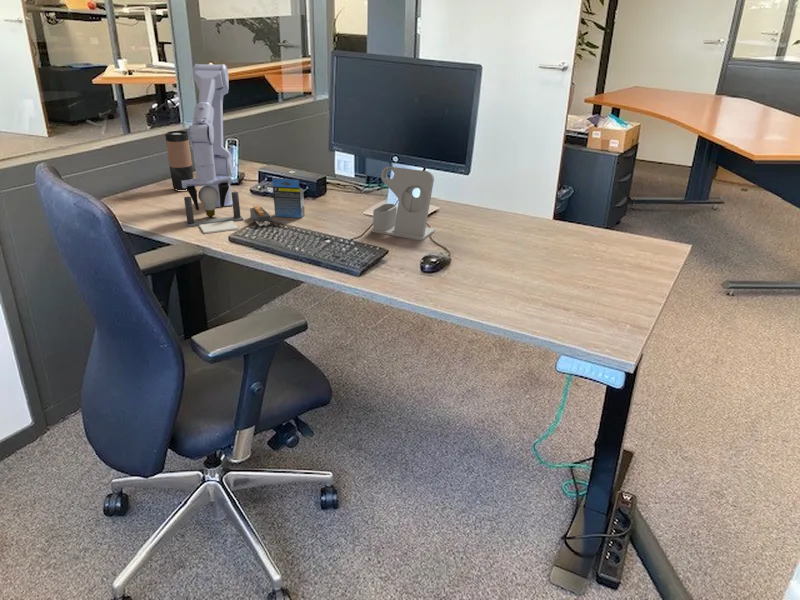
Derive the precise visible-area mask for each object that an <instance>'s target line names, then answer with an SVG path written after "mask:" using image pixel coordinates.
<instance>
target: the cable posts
mask: <svg viewBox="0 0 800 600" xmlns="http://www.w3.org/2000/svg"><path fill="white" fill-rule="evenodd" d="M239 197H240V196H239V192H238V191H231V199H232V203H233V205H232V209H233V210H232V211H233V215H232V216H228V217H227V216H226V217H219V218H218V217H217V218H210V219H201V220H195V217H194V209H193V200H192V198H191V196H184V197H183V199H184V200H183V201H184V207H185V215H186V221H185V222H184V225H185V227H186V228H192V227H198V226H199V225H201V224H209V223H217V222H225V221H233V222H238V221H244V217H243V216H242V215H241V208H240V206H241V205H240V198H239Z"/></svg>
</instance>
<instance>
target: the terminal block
mask: <svg viewBox="0 0 800 600" xmlns="http://www.w3.org/2000/svg"><path fill="white" fill-rule="evenodd" d="M252 206H253V208H252V207H250V208H249V212H250V218H251V220H252V221H253V222H254V221H258V222H264V221H268V222H271V219H272V218H271V215H270V214H269V213H268V212H267V211H266V210H265V208H263V207H262V206H258V205H252ZM271 223H272V222H271Z"/></svg>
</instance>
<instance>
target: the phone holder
mask: <svg viewBox="0 0 800 600" xmlns="http://www.w3.org/2000/svg"><path fill="white" fill-rule="evenodd" d="M389 171H392V172H394V173H393V174H394V175H393V177H392V178H388V176H387V175H388V173H389ZM380 179H381V181H382V182H383V183H384V184H385V185H386V186H387V188H388V189H390V190H391V192H392V193H393V194H394V196H396V197H397V198H398V202H397V203H398V205H396V204H395V203H385V204H382V205H380V206H378V207H376V208H374V209H373V210H372V211H373V213H372V214H373V215H372V218H373V219H372V220H373V222H372V223H373V224H372V229H371V231H372V232H373V233H376V234H382V235H388V236H393V237H399V238H405V239H411V240H415V241H416V240H417V241H424V240H426V239H427V238H429V237H430V236H431V235H432V234H434V233H435V230H436V229H435V228H433V227H427V221H428V216H429V212H430V211H429V210H430V204H431V199H432V194H433V187H434V181H435V177H434V174H433V173H432V172H430V171H427V170H421V169H420V170H419V169H412V168H411V169H410V168H404V167H395V166H385V167H384V168H383V169H382V171H381V176H380ZM414 189H419V191H420V195H419V196H417V197H415V196H414V194H413V191H414Z"/></svg>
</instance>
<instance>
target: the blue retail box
mask: <svg viewBox="0 0 800 600" xmlns="http://www.w3.org/2000/svg"><path fill="white" fill-rule="evenodd" d="M271 180H272V192H273V204H274V206H273V207H274V216H275V218H278V217H279V218H280V217H281V218H297V219H302V218H303V217H304V216H305V198H304V196H305V195H304V189H303V188H301V187H300V180H299V179H289V178H273V177H272V179H271ZM285 183H287V184H285Z"/></svg>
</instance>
